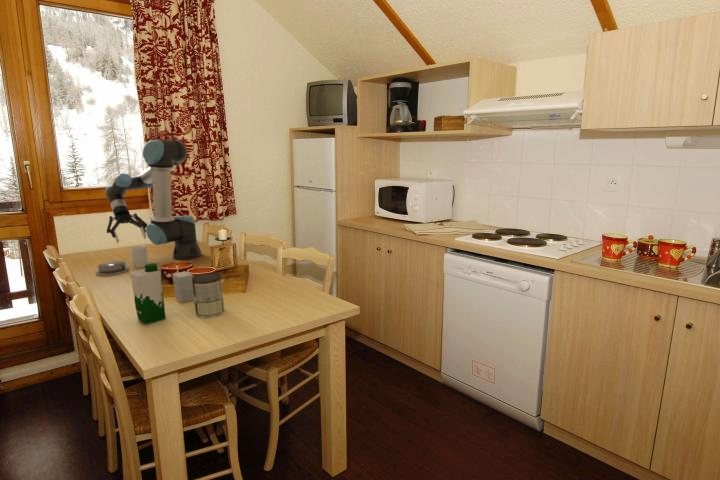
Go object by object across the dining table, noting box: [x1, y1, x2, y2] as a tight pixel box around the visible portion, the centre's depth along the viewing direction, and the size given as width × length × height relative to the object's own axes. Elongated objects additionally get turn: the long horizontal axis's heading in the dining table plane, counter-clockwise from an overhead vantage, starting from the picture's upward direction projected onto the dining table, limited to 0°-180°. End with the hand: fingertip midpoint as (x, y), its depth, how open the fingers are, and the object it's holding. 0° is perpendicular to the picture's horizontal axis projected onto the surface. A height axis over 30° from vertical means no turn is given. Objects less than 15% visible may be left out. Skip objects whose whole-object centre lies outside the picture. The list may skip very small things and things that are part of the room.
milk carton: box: [130, 262, 166, 325], centre depth 161 cm, size 9×9×20 cm
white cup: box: [129, 244, 149, 268], centre depth 239 cm, size 8×8×10 cm
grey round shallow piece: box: [95, 260, 130, 277], centre depth 229 cm, size 15×15×4 cm
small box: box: [172, 271, 194, 303], centre depth 183 cm, size 8×6×10 cm
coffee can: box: [192, 272, 226, 319], centre depth 167 cm, size 10×10×14 cm
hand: (131, 239), depth 243 cm, fingers open, 13 cm apart
